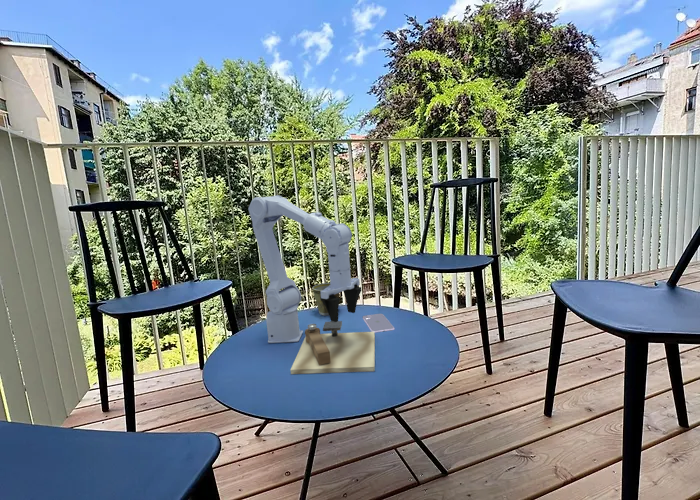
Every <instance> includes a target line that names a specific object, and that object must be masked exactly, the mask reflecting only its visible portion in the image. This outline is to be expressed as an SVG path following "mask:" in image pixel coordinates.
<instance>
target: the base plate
mask: <svg viewBox="0 0 700 500" xmlns="http://www.w3.org/2000/svg"><path fill="white" fill-rule="evenodd" d="M320 335H321V337H322V339H323V340H324V342H325V344H326V346H327V348H328V349H329V351H330V361H331V362H330V363H325V364H321V365H319V363H318V361H317V359H316V357H315V355H314V352H313V350H312V348H311V346H310V344H309V343H308V342H306V338H305V337H304V339H303V341H302V344H301V345H300V347H299V349H298V352H297V355H296V357H295V359H294V361H293V363H292V365H291V368H290V375H303V374H304V375H306V374H307V375H308V374H309V375H310V374H329V373H330V374H331V373H335V374H337V373H339V374H340V373H362V372H363V373H364V372H365V373H366V372H376V371H375V369H376V367H375V366H376V365H375V364H376V363H375V361H376V360H375V359H376V358H375V357H376V356H375V354H376V351H375V349H376V348H375V346H376V345H375V344H376V342H375V341H376V340H375V338H376V337H375V335H376V333H375V332H371V331H360V332H359V331H357V332H355V331H354V332H352V331H351V332H338V336H336V337H333V336H332V332H331V333H320Z"/></svg>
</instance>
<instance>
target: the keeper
mask: <svg viewBox="0 0 700 500" xmlns="http://www.w3.org/2000/svg"><path fill="white" fill-rule="evenodd" d="M342 325H343V321H342V320H338V321H337V322H334V321H331V320H330V321H324V324H323V327H322V331H323V332H330V331H331V333H332V336H333V337H336V336H338V333H339V331H341V330H342ZM315 327H317V324H316V323H310V324H307V329H308V328H309V329H310V331H314V330H315Z"/></svg>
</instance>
